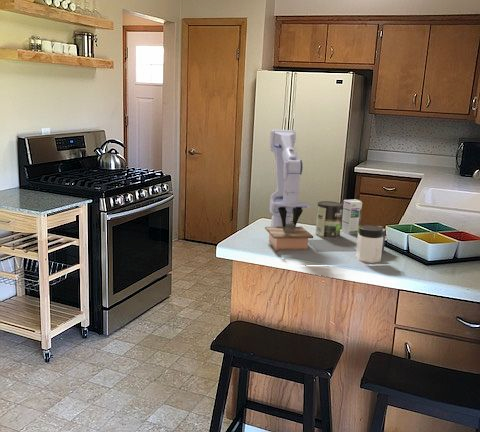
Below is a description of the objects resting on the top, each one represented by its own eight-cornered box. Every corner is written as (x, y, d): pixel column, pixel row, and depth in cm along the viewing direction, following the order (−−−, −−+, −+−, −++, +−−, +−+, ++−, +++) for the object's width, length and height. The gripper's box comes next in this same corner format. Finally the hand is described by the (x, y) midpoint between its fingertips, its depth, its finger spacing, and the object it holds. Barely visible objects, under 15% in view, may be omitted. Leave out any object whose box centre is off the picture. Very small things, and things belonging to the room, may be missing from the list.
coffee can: (343, 236, 213) (346, 203, 210) (334, 241, 205) (337, 207, 202) (320, 231, 219) (323, 199, 215) (311, 236, 210) (313, 203, 207)
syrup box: (348, 235, 215) (351, 201, 212) (340, 231, 220) (343, 199, 217) (359, 234, 217) (362, 201, 214) (351, 231, 222) (354, 198, 219)
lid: (265, 228, 199) (265, 218, 199) (301, 228, 202) (302, 218, 201) (273, 238, 185) (274, 227, 184) (313, 238, 188) (314, 227, 187)
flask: (378, 250, 195) (382, 223, 192) (386, 252, 193) (389, 224, 191) (367, 255, 188) (370, 227, 186) (374, 256, 186) (377, 228, 184)
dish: (268, 241, 199) (269, 229, 198) (298, 241, 201) (299, 229, 200) (276, 250, 188) (276, 238, 187) (307, 250, 190) (308, 237, 189)
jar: (367, 265, 176) (371, 232, 173) (350, 258, 183) (353, 226, 180) (385, 261, 181) (389, 229, 178) (368, 255, 187) (371, 224, 185)
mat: (304, 241, 203) (304, 239, 203) (342, 240, 206) (342, 239, 206) (317, 253, 188) (317, 251, 187) (358, 252, 190) (358, 251, 190)
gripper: (274, 193, 185) (272, 229, 188) (313, 193, 187) (310, 229, 190) (270, 189, 191) (268, 224, 195) (307, 190, 194) (304, 224, 197)
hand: (288, 226), depth 193 cm, fingers closed on lid, 3 cm apart
